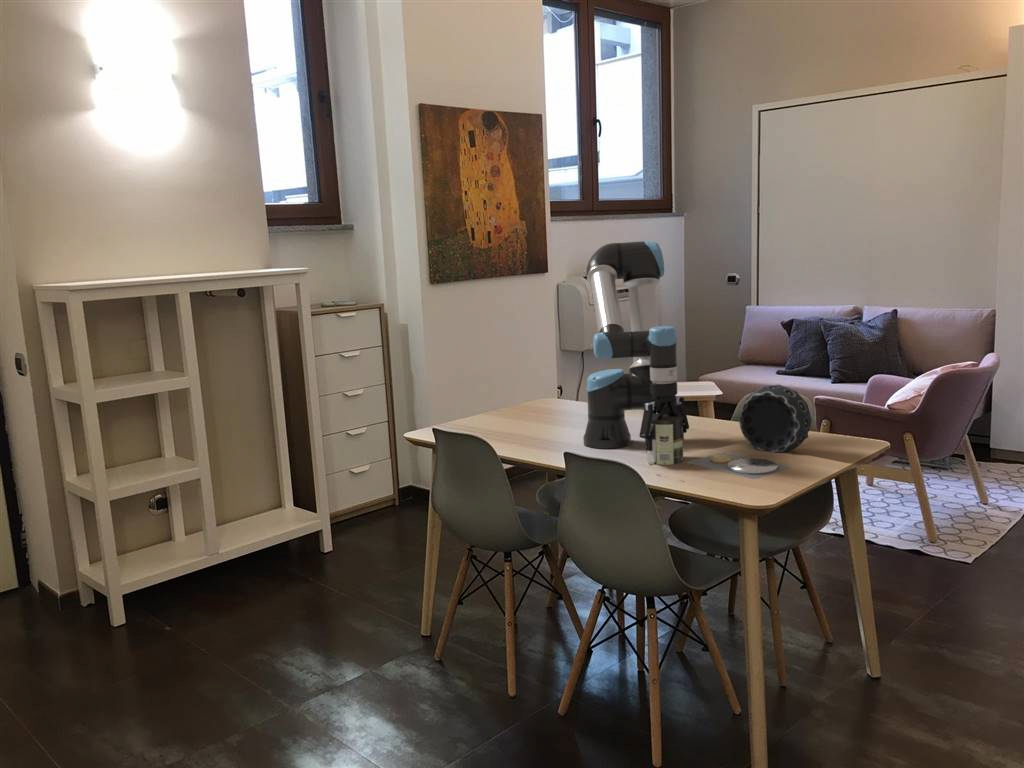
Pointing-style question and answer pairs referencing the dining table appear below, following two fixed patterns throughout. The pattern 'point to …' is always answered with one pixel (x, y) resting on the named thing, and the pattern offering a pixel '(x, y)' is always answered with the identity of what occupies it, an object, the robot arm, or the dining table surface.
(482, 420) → the dining table surface
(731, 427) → the dining table surface
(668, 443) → the coffee can
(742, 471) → the metal dome
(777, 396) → the dark patterned bowl
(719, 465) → the fitting board
